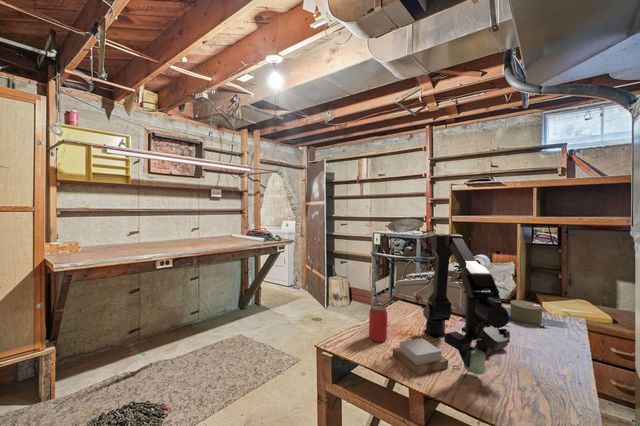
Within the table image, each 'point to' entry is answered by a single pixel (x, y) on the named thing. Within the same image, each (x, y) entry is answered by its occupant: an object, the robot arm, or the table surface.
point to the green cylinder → (477, 362)
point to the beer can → (378, 323)
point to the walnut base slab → (422, 367)
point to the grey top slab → (420, 351)
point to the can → (526, 312)
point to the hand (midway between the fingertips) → (474, 365)
